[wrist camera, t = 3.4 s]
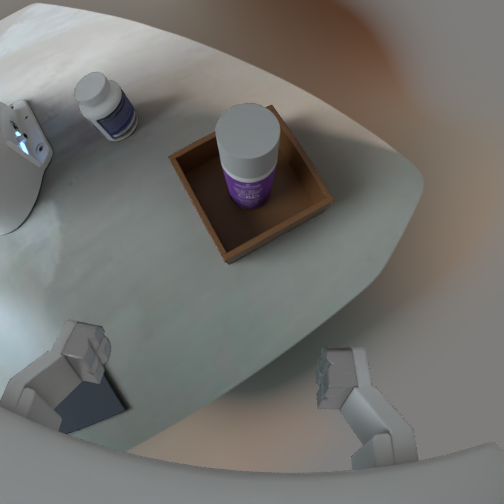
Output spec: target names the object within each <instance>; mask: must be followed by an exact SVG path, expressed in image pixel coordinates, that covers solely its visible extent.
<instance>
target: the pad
mask: <svg viewBox="0 0 504 504" xmlns="http://www.w3.org/2000/svg"><path fill="white" fill-rule="evenodd" d="M53 410H55V411H56V412H57V413H58V414H59V415H60V416H61V418H62V421H61V424H60V427H59V432H61V433H64V434H67V433H70V432H73V431H75V430H78V429H81V428H83V427H86V426H89V425H91V424H94V423H96V422H99V421H101V420H104V419H106V418H109V417H111V416H114V415H116V414H119V413H121V412H124V411H126V410H127V408H126V407H125V405H124V404H123V402H122V400H121V399H120V397H119V396H118V394H117V392H116V391H115V389H114V387H113V385H112V384H111V382H110V380H109V379H108V377H107V375H106V373H105V372H104V374H103V376H102V379H101V382H100V384H97V383H92V382H88V381H83V380H82V382H81V383H80V384H79V385H78V386H77V387H76V388H75V389H74V390H73V391H72V392H71V393H70V394H69V395H68V396H67V397H66V398H65V399H64V400H63V401H62V402H61V403H59V404H58V405H57V406H56V407H55V408H54V409H53Z"/></svg>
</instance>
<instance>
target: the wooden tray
mask: <svg viewBox="0 0 504 504" xmlns="http://www.w3.org/2000/svg"><path fill="white" fill-rule="evenodd" d="M266 108H267V109H269V110H270V111H271V112H272V113H273V114H274V115H275V116H276V118H277V119H278V121H279V124H280V140H279V149H278V157H277V164H276V169H275V174H274V179H273V184H272V190H271V194H270V197H269V200H268V201H267V202H266V204H265V205H263V206H262V207H260V208H258V209H255V210H245V209H242V208H240V207H238V206H237V205H236V204H235V203H234V202H233V201H232V199H231V197H230V194H229V190H228V186H227V183H226V179H225V176H224V172H223V168H222V165H221V160H220V154H219V149H218V144H217V139H216V131H215V132H213V133H211V134H209V135H207V136H205V137H203V138H202V139H200V140H198V141H196V142H194V143H192V144H190V145H188V146H187V147H185V148H183V149H181V150H179V151H177V152H176V153H174V154H172V155H170V156H169V159H170V161H171V163H172V165H173V167H174V169H175V171H176V173H177V175H178V176H179V178H180V180H181V182H182V184H183V186H184V188H185V190H186V192H187V193H188V195H189V197H190V199H191V201H192V203H193V205H194V207H195V208H196V210H197V212H198V214H199V216H200V218H201V220H202V221H203V223H204V225H205V227H206V229H207V231H208V233H209V234H210V236H211V238H212V240H213V242H214V244H215V245H216V247H217V249H218V251H219V253H220V254H221V256H222V258H223V260H224V261H225V262H226V263H228V264H231V263H233V262H235V261H236V260H238V259H240V258H242V257H243V256H245V255H247V254H249V253H251V252H252V251H254V250H256V249H258V248H260V247H261V246H263V245H265V244H267V243H268V242H270V241H272V240H274V239H276V238H277V237H279V236H281V235H283V234H285V233H286V232H288V231H290V230H292V229H294V228H295V227H297V226H299V225H301V224H303V223H304V222H306V221H308V220H310V219H311V218H313V217H315V216H317V215H319V214H320V213H322V212H324V210H325V209H326V208H327V207H328V206H329V205H330V204H331V203H332V202H333V201H334V198H333V197H332V195H331V193H330V192H329V190H328V188H327V187H326V185H325V183H324V182H323V180H322V179H321V177H320V175H319V174H318V172H317V171H316V169H315V168H314V166H313V164H312V163H311V161H310V160H309V158H308V157H307V155H306V154H305V152H304V151H303V149H302V148H301V146H300V145H299V143H298V142H297V140H296V139H295V137H294V136H293V134H292V133H291V131H290V130H289V128H288V127H287V125H286V124H285V122H284V121H283V120H282V118H281V117H280V115H279V114H278V112H277V111H276V110H275V108H274V107H273V105H270V106H267V107H266Z"/></svg>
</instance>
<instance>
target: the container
mask: <svg viewBox="0 0 504 504" xmlns="http://www.w3.org/2000/svg"><path fill="white" fill-rule="evenodd" d="M216 139H217V144H218V149H219V154H220V160H221V165H222V168H223V172H224V176H225V179H226V183H227V186H228V190H229V194H230V197H231V199H232V201H233V202H234V203H235V204H236V205H237V206H238V207H240V208H242V209H245V210H255V209H258V208H260V207H262V206H263V205H265V204H266V202H267V201H268V200H269V197H270V194H271V190H272V184H273V179H274V174H275V169H276V164H277V157H278V149H279V140H280V124H279V121H278V119H277V118H276V116H275V115H274V114H273V113H272V112H271V111H270V110H269V109H267V108H266V107H264V106H261V105H258V104H253V103H243V104H238V105H235V106H233V107H231V108H229V109H228V110H226V111H225V112H224V113H223V114H222V115H221V117H220V118H219V120H218V122H217V125H216Z"/></svg>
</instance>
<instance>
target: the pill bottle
mask: <svg viewBox="0 0 504 504" xmlns="http://www.w3.org/2000/svg"><path fill="white" fill-rule="evenodd" d="M74 95H75V98H76V99H77V101H78V102H79V108H80V112H81V114H82V115H83V116H84V117H85V118H86V119H87V120H88V121H89V122H90V123H91V124H92V125H93V126H94V127H95V128H96V129H97V130H98V131H99V132H100V133H101V134H102V135H103V136H104V137H105V138H106V139H108V140H110V141H119V140H122V139H125V138H126V137H128V136H129V135H130V134H131V133H132V132H133V131H134V130H135V128H136V126H137V123H138V115H137V112H136V110H135V109H134V107H133V106H132V104H131V103H130V101H129V100H128V98H127V97H126V95H125V93H124V92H123V91H122V89H121V88H120V86H119V85H118V84H117V83H116V82H115V81H113V80H108V79H107V78H106V77H105V75H104V74H103V73H100V72H93V73H90V74H88V75H86V76H85V77H83V78H82V79H81V80H80V81H79V83H78V84H77V86H76V88H75V91H74Z"/></svg>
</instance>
